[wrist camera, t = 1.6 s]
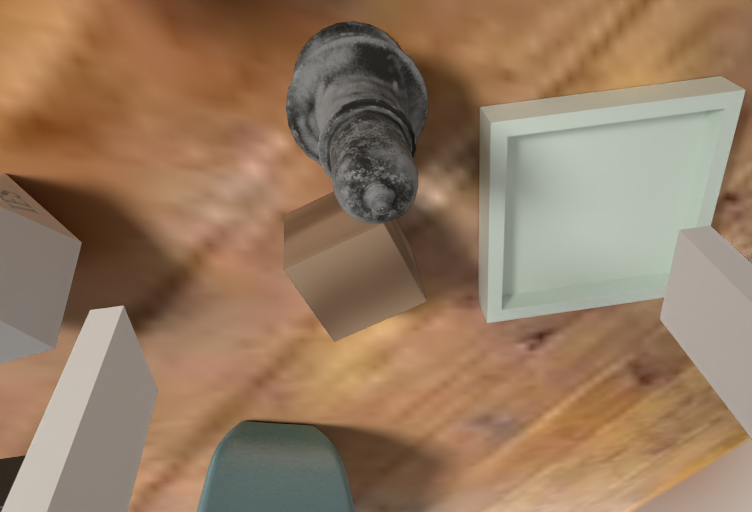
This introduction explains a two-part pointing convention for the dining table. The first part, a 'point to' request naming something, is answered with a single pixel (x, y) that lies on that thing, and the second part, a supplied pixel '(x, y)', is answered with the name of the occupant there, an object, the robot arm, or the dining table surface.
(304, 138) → the dark grey tall piece
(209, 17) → the dining table surface
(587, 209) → the coaster tray
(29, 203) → the die
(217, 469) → the flower pot
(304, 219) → the walnut block
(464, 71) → the dining table surface
